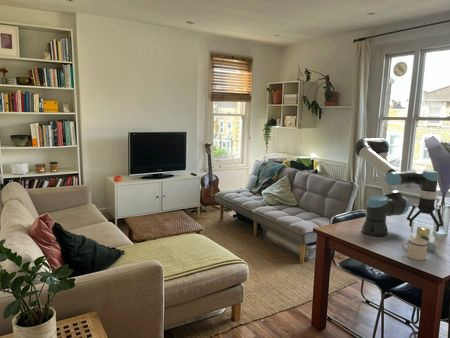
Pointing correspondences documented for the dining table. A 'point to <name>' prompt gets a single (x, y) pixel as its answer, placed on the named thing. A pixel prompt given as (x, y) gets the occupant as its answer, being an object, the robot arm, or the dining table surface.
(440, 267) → the dining table surface
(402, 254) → the dining table surface
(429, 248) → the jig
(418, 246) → the teacup with lid
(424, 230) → the gold cylinder
